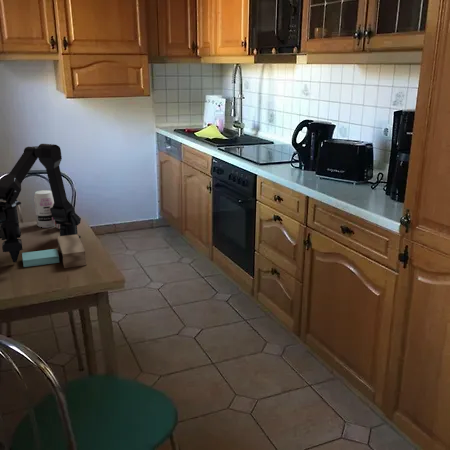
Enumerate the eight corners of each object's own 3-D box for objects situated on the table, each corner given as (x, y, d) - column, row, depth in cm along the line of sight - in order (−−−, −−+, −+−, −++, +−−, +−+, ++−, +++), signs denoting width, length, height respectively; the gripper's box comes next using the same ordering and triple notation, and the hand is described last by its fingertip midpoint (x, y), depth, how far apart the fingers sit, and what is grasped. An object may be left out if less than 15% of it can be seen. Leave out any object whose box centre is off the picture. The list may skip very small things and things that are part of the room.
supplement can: (49, 221, 231) (45, 188, 227) (60, 224, 227) (57, 191, 222) (33, 225, 225) (29, 192, 221) (45, 229, 221) (41, 195, 216)
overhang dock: (64, 268, 180) (62, 254, 178) (58, 249, 197) (57, 236, 196) (86, 265, 183) (85, 251, 181) (78, 247, 200) (77, 234, 199)
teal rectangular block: (23, 267, 180) (22, 260, 180) (22, 259, 187) (22, 252, 187) (59, 262, 185) (58, 256, 184) (57, 255, 192) (56, 248, 191)
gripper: (-16, 214, 183) (-10, 255, 188) (-18, 230, 167) (-11, 275, 172) (18, 211, 187) (23, 251, 192) (19, 226, 171) (25, 270, 176)
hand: (14, 261), depth 183 cm, fingers closed
